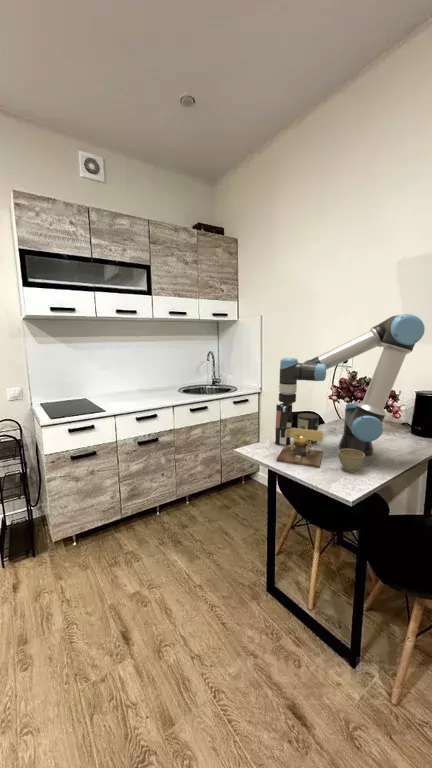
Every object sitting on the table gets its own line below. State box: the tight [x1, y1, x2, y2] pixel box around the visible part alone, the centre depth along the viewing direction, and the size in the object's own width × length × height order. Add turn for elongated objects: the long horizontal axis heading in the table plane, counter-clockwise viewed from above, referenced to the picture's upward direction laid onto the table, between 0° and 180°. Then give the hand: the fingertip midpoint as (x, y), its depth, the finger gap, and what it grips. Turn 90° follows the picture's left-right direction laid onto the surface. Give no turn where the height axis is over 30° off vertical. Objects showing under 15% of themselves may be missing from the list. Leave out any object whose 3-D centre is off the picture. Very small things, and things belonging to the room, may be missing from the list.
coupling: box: [286, 426, 324, 452], centre depth 148 cm, size 18×8×9 cm, turn 67°
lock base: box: [275, 445, 324, 469], centre depth 149 cm, size 18×18×6 cm
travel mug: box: [275, 402, 291, 447], centre depth 166 cm, size 8×8×20 cm
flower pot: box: [338, 449, 366, 473], centre depth 137 cm, size 10×10×7 cm
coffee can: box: [297, 412, 320, 447], centre depth 169 cm, size 10×10×14 cm
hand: (285, 439), depth 151 cm, fingers open, 11 cm apart
